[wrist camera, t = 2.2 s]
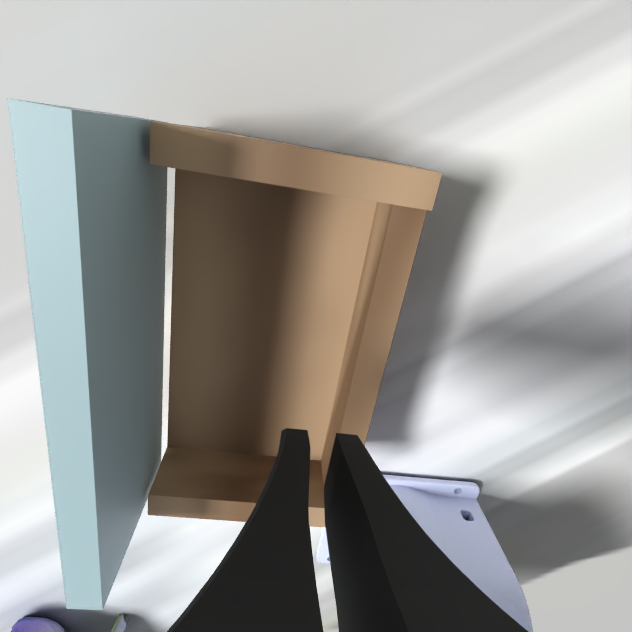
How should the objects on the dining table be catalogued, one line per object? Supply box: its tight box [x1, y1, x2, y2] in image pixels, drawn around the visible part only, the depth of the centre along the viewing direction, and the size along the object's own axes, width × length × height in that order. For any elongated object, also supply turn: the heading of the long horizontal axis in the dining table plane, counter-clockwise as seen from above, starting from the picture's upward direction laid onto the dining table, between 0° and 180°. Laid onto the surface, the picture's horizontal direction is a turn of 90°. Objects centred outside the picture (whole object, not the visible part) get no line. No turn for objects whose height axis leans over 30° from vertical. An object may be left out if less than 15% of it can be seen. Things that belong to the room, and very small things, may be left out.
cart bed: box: [148, 121, 442, 527], centre depth 18 cm, size 9×16×6 cm, turn 171°
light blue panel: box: [7, 98, 167, 610], centre depth 14 cm, size 1×16×7 cm, turn 170°
